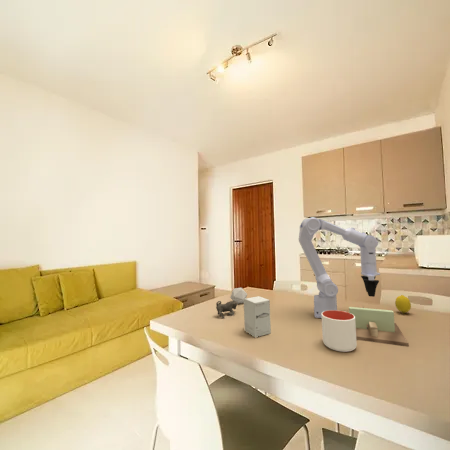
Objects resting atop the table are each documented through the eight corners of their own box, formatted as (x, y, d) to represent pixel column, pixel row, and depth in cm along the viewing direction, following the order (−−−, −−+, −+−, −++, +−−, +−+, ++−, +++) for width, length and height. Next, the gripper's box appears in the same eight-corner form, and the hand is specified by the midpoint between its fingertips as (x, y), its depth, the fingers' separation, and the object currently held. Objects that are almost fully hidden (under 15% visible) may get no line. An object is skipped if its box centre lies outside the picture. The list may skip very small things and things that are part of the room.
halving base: (345, 337, 84) (344, 326, 84) (343, 320, 100) (343, 310, 100) (408, 346, 76) (407, 333, 76) (395, 325, 92) (395, 315, 92)
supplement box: (255, 338, 86) (253, 302, 86) (244, 331, 92) (242, 298, 93) (271, 333, 89) (270, 299, 90) (259, 327, 96) (258, 295, 96)
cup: (355, 356, 71) (353, 322, 72) (320, 349, 76) (318, 317, 77) (357, 342, 80) (356, 312, 80) (325, 336, 85) (324, 308, 85)
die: (243, 300, 136) (232, 287, 137) (252, 295, 131) (241, 281, 131) (236, 309, 130) (224, 295, 130) (245, 304, 124) (234, 290, 125)
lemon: (414, 315, 102) (413, 296, 102) (399, 315, 103) (398, 296, 103) (407, 311, 107) (406, 293, 108) (393, 311, 108) (392, 293, 109)
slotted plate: (350, 327, 90) (349, 308, 90) (349, 325, 92) (348, 306, 92) (395, 332, 84) (393, 312, 84) (393, 330, 86) (392, 310, 86)
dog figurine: (220, 319, 106) (219, 302, 106) (213, 316, 111) (213, 300, 111) (242, 314, 112) (241, 298, 113) (235, 311, 117) (234, 295, 117)
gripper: (382, 265, 96) (384, 299, 96) (376, 260, 109) (378, 290, 109) (362, 264, 99) (364, 297, 98) (359, 260, 112) (360, 289, 112)
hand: (370, 294), depth 104 cm, fingers open, 7 cm apart
